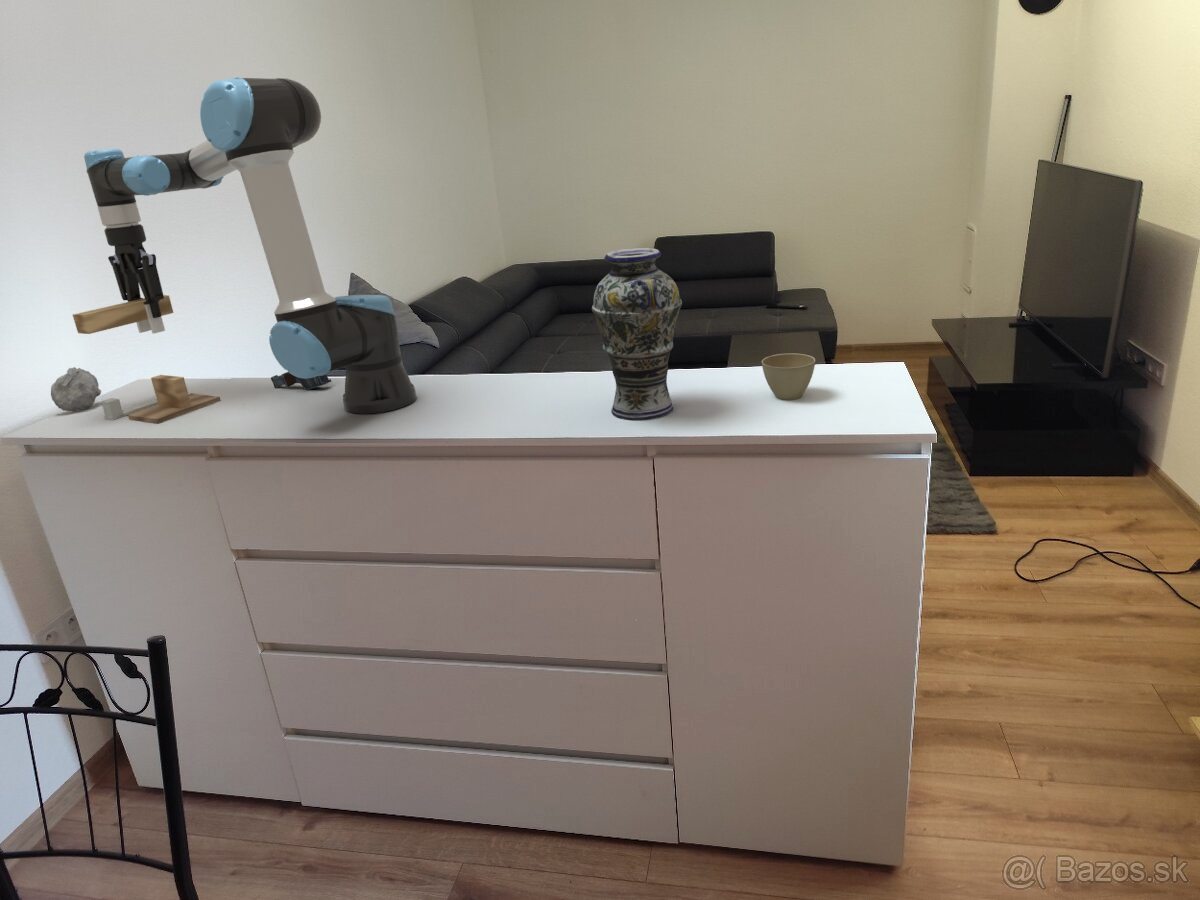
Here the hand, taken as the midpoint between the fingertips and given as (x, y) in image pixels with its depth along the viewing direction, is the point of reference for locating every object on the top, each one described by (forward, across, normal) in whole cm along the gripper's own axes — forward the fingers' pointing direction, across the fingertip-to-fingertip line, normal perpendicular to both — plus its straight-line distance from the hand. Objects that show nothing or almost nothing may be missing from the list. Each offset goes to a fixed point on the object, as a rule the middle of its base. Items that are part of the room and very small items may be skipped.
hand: (152, 331), depth 192 cm
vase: (+17, -111, -23) cm, 114 cm away
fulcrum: (+16, -9, +5) cm, 19 cm away
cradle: (+16, +1, +5) cm, 17 cm away
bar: (-3, 0, +5) cm, 6 cm away
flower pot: (+17, -135, -38) cm, 141 cm away
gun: (+17, -26, -16) cm, 35 cm away
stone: (+16, +16, +11) cm, 26 cm away
